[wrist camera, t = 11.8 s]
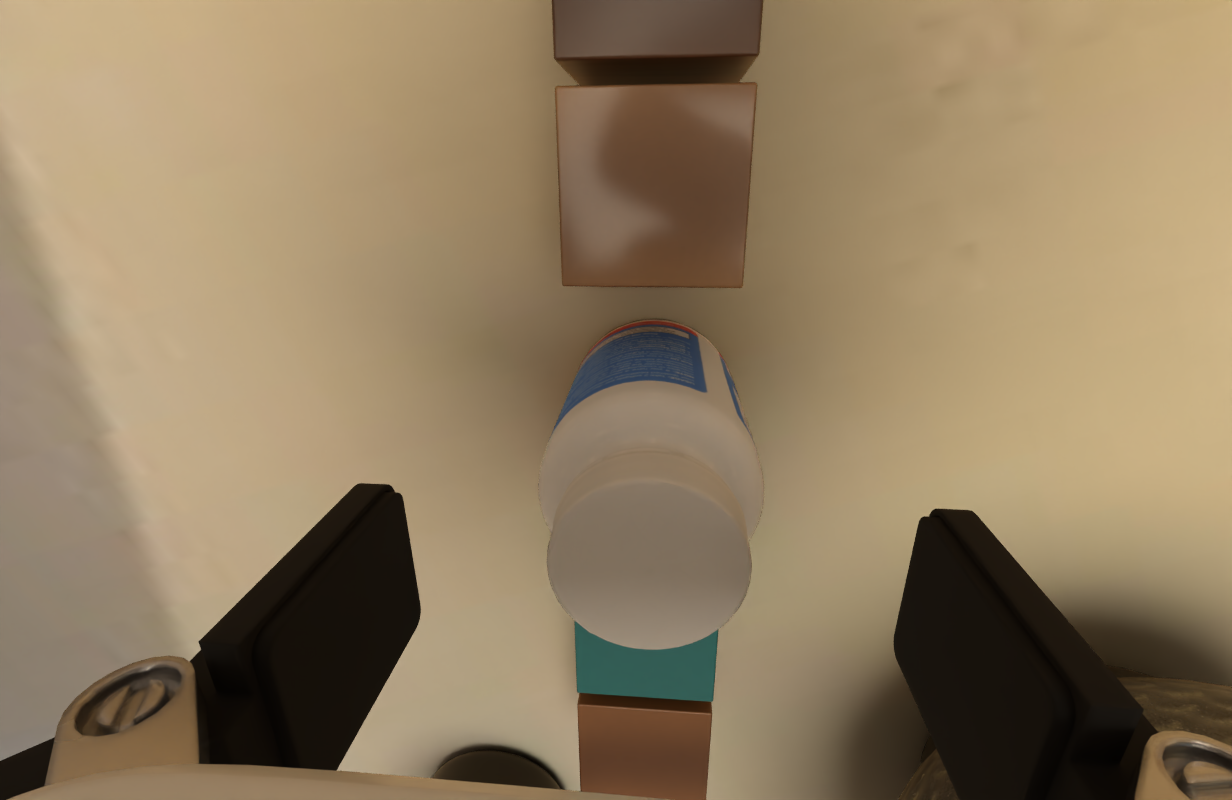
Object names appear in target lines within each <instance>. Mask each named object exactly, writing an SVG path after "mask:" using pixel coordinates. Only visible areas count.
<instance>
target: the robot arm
mask: <svg viewBox="0 0 1232 800" xmlns="http://www.w3.org/2000/svg"><path fill="white" fill-rule="evenodd" d="M420 613H421V606H420V600H419V593H418V587H417V581H416V575H415V569H414V563H413V557H412V550H411V544H410V538H409V532H408V526H407V520H406V514H405V507H404V501H403V497H402V495H401V494H400V493H395V492H394V489H393V488H392V486H390V485H387V484H364V483H361V484H357V485H356V486H354V487H353V488H352V489H351V490H350V491H349V492H348V493H347V494H346V495H345V496H344V497H343V498H342V499H341V500H340V501H339V502H338V503H337V504H336V505H335V506H334V507H333V508H332V509H331V510H330V511H329V512H328V513H327V514H326V515H325V516H324V517H323V518H322V519H321V520H320V521H319V522H318V523H317V524H316V525H315V526H314V527H313V528H312V529H311V530H310V531H309V532H308V533H307V534H306V535H305V536H304V537H303V538H302V539H301V540H300V541H299V542H298V543H297V544H296V545H295V546H294V547H293V548H292V549H291V550H290V551H289V552H288V553H287V554H286V555H285V556H284V557H283V558H282V559H281V560H280V561H279V562H278V563H277V564H276V565H275V566H274V567H273V568H272V569H271V570H270V571H269V572H268V573H267V574H266V575H265V576H264V577H263V578H262V579H261V580H260V581H259V582H258V583H257V584H256V585H255V586H254V587H253V588H252V589H251V590H250V591H249V592H248V593H247V594H246V595H245V596H244V597H243V598H242V599H241V600H240V601H239V602H238V603H237V604H236V605H235V606H234V607H233V608H232V609H231V610H230V611H229V612H228V613H227V614H226V615H225V616H224V617H223V618H222V619H221V620H220V621H219V622H218V623H217V624H216V625H215V626H214V627H213V628H212V629H211V630H210V631H209V632H208V633H207V634H206V635H205V636H204V637H203V638H202V639H201V640H200V641H199V644H200V647H201V650H200V651H199V652H198V653H197V654H196V656H195V657H194V658H193V659H192V660H191V661H190V662H189V661H187V660H186V659H184V658H181V657H175V656H161V657H152V658H148V659H145V660H141V661H138V662H134V663H132V664H129V665H127V666H125V667H122V668H120V669H118V670H116V671H113V672H112V673H110V674H108V675H107V676H105V677H103V678H102V679H100V680H98V681H97V682H95V683H93V684H92V685H91V686H90V687H88V688H87V689H86V690H85V691H83V692H82V693H81V694H80V695H79V696H77V697H76V698H75V699H74V701H73V702H72V703H71V704H70V705H69V706H68V708H67V709H66V710H65V711H64V713H63V715H62V717H61V719H60V722H59V724H58V726H57V731H56V735H55V738H52V739H50V740H48V741H45V742H43V743H41V744H39V745H36V746H34V747H32V748H29V749H27V750H25V751H22V752H20V753H18V754H16V755H13V756H11V757H9V758H6V759H4V760H2V761H0V800H670V799H659V798H648V797H637V796H626V795H615V794H604V793H593V792H581V791H570V790H559V789H548V788H537V787H526V786H514V785H502V784H491V783H479V782H467V781H455V780H443V779H431V778H420V777H408V776H396V775H384V774H372V773H360V772H348V771H336V770H337V769H338V767H339V765H340V763H341V761H342V760H343V758H344V756H345V754H346V753H347V751H348V749H349V747H350V745H351V744H352V742H353V740H354V738H355V737H356V735H357V733H358V731H359V729H360V728H361V726H362V724H363V722H364V720H365V719H366V717H367V715H368V713H369V712H370V710H371V708H372V706H373V704H374V703H375V701H376V699H377V697H378V696H379V694H380V692H381V690H382V688H383V687H384V685H385V683H386V681H387V679H388V678H389V676H390V674H391V672H392V671H393V669H394V667H395V665H396V663H397V662H398V660H399V658H400V656H401V655H402V653H403V651H404V649H405V647H406V646H407V644H408V642H409V640H410V639H411V637H412V635H413V633H414V631H415V630H416V628H417V625H418V623H419V619H420ZM894 652H895V656H896V659H897V662H898V664H899V666H900V668H901V671H902V673H903V675H904V677H905V679H906V682H907V684H908V686H909V688H910V691H911V693H912V695H913V697H914V700H915V702H916V704H917V706H918V709H919V711H920V713H921V715H922V718H923V720H924V722H925V724H926V727H927V729H928V731H929V733H930V735H931V738H932V740H933V742H934V744H935V747H936V749H937V751H938V753H939V756H940V758H941V760H942V762H943V765H944V767H945V769H946V771H947V774H948V776H949V778H950V780H951V782H952V785H953V787H954V789H955V791H956V794H957V796H958V798H959V800H1232V746H1230V745H1227V744H1225V743H1222V742H1220V741H1217V740H1214V739H1212V738H1209V737H1207V736H1203V735H1199V734H1194V733H1190V732H1186V731H1162V732H1160V733H1159V732H1158V731H1157V730H1156V729H1155V728H1154V727H1153V725H1152V724H1151V723H1150V722H1149V721H1148V720H1147V718H1146V717H1145V716H1144V715H1143V714H1142V713H1143V711H1144V709H1143V708H1142V707H1141V705H1140V704H1139V703H1138V702H1137V701H1136V700H1135V698H1134V697H1133V696H1132V695H1131V694H1130V693H1129V691H1128V690H1127V689H1126V688H1125V687H1124V686H1123V684H1122V683H1121V682H1120V681H1119V680H1118V679H1117V677H1116V676H1115V675H1114V674H1113V673H1112V672H1111V671H1110V669H1109V668H1108V667H1107V666H1106V665H1105V664H1104V662H1103V661H1102V660H1101V659H1100V658H1099V657H1098V655H1097V654H1096V653H1095V652H1094V651H1093V650H1092V648H1091V647H1090V646H1089V645H1088V644H1087V643H1086V641H1085V640H1084V639H1083V638H1082V637H1081V636H1080V634H1079V633H1078V632H1077V631H1076V630H1075V629H1074V628H1073V626H1072V625H1071V624H1070V623H1069V622H1068V621H1067V619H1066V618H1065V617H1064V616H1063V615H1062V614H1061V612H1060V611H1059V610H1058V609H1057V608H1056V607H1055V605H1054V604H1053V603H1052V602H1051V601H1050V600H1049V598H1048V597H1047V596H1046V595H1045V594H1044V593H1043V591H1042V590H1041V589H1040V588H1039V587H1038V586H1037V585H1036V583H1035V582H1034V581H1033V580H1032V579H1031V578H1030V576H1029V575H1028V574H1027V573H1026V572H1025V571H1024V569H1023V568H1022V567H1021V566H1020V565H1019V564H1018V562H1017V561H1016V560H1015V559H1014V558H1013V557H1012V555H1011V554H1010V553H1009V552H1008V551H1007V550H1006V548H1005V547H1004V546H1003V545H1002V544H1001V543H1000V542H999V540H998V539H997V538H996V537H995V536H994V535H993V533H992V532H991V531H990V530H989V529H988V528H987V526H986V525H985V524H984V523H983V522H982V521H981V519H980V518H979V517H978V516H977V515H976V514H975V513H974V512H973V511H970V510H952V509H934V510H933V511H932V512H931V514H930V516H929V517H922V518H921V519H920V521H919V524H918V528H917V533H916V537H915V542H914V546H913V551H912V556H911V560H910V565H909V569H908V574H907V579H906V583H905V588H904V592H903V597H902V601H901V606H900V611H899V615H898V620H897V624H896V629H895V634H894Z"/></svg>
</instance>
